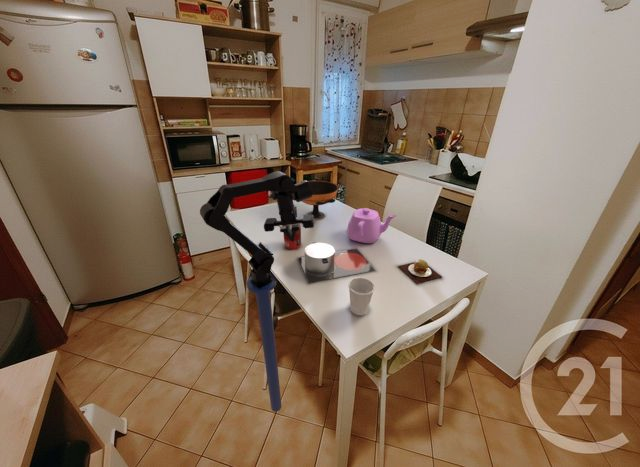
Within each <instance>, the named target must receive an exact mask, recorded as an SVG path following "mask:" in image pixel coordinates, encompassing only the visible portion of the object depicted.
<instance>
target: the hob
mask: <svg viewBox="0 0 640 467" xmlns="http://www.w3.org/2000/svg"><path fill="white" fill-rule="evenodd" d="M297 260H298V261H299V264H300V266H301V268H302V270H303V272H304V276H305V277H306V279H307V281H308V284H314V283H320V282H323V281H329V280H334V279H340V278H345V277H349V276H350V277H351V276H356V275H360V274H361V275H362V274H365V273H370V272H376V269H375V268H374V267H373V266H372V264H371V263H370V262H369V261H368V259H366V258H365V256H364V255H363V254H362V252H360V251H359V250H358V248H349V249H345V250H337V251H335V255H334V269H333V271H332V272H330V273H329V274H326V275H314V274H311V273H309V272H308V271H307V270H306V269H305V256H301V257H297Z"/></svg>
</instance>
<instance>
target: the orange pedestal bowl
mask: <svg viewBox="0 0 640 467" xmlns="http://www.w3.org/2000/svg"><path fill="white" fill-rule="evenodd" d="M302 181H303V180H301V181H300V182H302ZM306 181H307V182H308V185H309V186H310V188H311V190H312V192H313V196H312V197H311V198H309V199H306V200H303V201H301V202H302V203H304V204H306V205H310V206H312V211H309V212H308V213H307V214H306V215H313V216H314V220H321V219H323V218H325V212H322V211H320V208H319V206H323V205H326V204H331V203H332V204H333V203H335V202H336V199H335V197H336V196H337V193H338V191H339V185H338V184H336V183H334V182H331V181H327V180H306Z"/></svg>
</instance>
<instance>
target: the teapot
mask: <svg viewBox="0 0 640 467" xmlns="http://www.w3.org/2000/svg"><path fill="white" fill-rule="evenodd" d="M396 217H397V215H395V214H392V215H391V214H390V215H388V216H387V217H386V219H385V222H384V223H383V224H382V222H381V217H380V213H379V212H378V211H377V210H374V209H370V208H368V207H364V208H358V209H356V210H355V211H354V212H353V214H352V215H351V216H350V219H349V221H348V223H347V229H346V234H347V237H348V239H350V240H351V241H354V242H358V243H363V244H373V243H375V242H376V241H377V240H378V239H379V238H380V236H381V235H382V234H384V233H385V232H386V231H387V229H388V228H389V225H390V223H391V221H392V219H394V218H396Z"/></svg>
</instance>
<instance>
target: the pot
mask: <svg viewBox="0 0 640 467" xmlns="http://www.w3.org/2000/svg"><path fill="white" fill-rule="evenodd" d="M335 250H336V249H335V248H334V246H332V245H331V244H330V243H325V242H317V241H315V242H311V244H308V245H307V246H306V247H305V248H304V257H305V269H306V270H307V271H308V272H309V273H311V274H314V275H326V274H329V273H330V272H332V271H333V269H334V255H335V252H336V251H335Z"/></svg>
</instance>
